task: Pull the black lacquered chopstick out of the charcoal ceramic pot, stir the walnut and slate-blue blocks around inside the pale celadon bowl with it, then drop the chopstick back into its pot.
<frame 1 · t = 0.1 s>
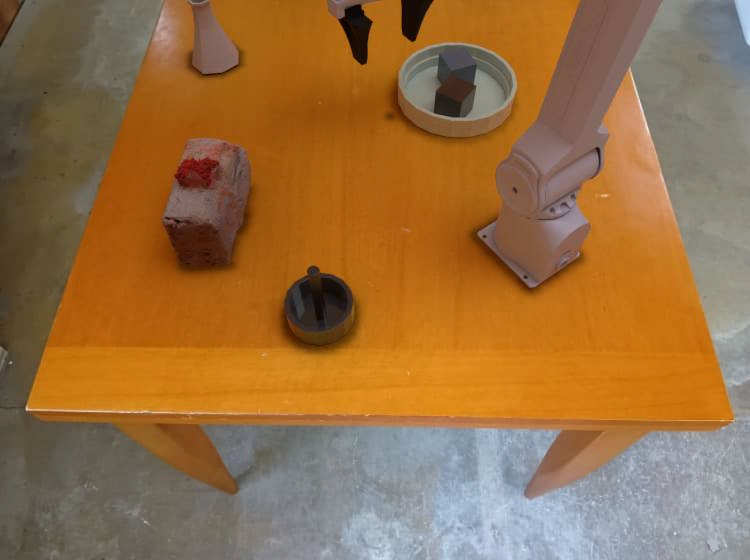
hand: (384, 48, 71), 10 cm above the table, tool pointing down, fingers open, 7 cm apart
walnut block: (452, 111, 79), resting on bowl
slate block: (454, 82, 82), resting on bowl
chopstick: (321, 315, 62), resting on holder
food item: (219, 222, 70), on the table
holder: (321, 317, 63), on the table
flask: (216, 60, 86), on the table
bowl: (454, 99, 81), on the table
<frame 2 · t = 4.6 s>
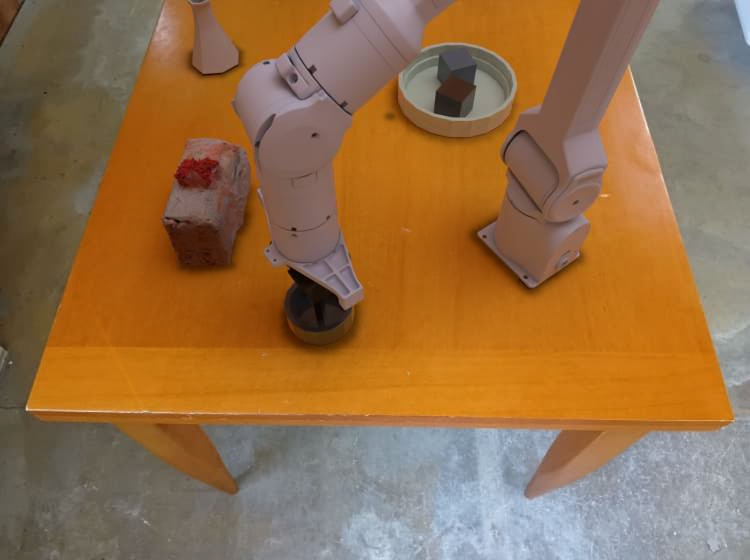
hand: (316, 289, 58), 6 cm above the table, tool pointing down, fingers closed on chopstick, 1 cm apart
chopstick: (321, 315, 62), point 1 cm above the table, touching gripper, holder
everything else where it was.
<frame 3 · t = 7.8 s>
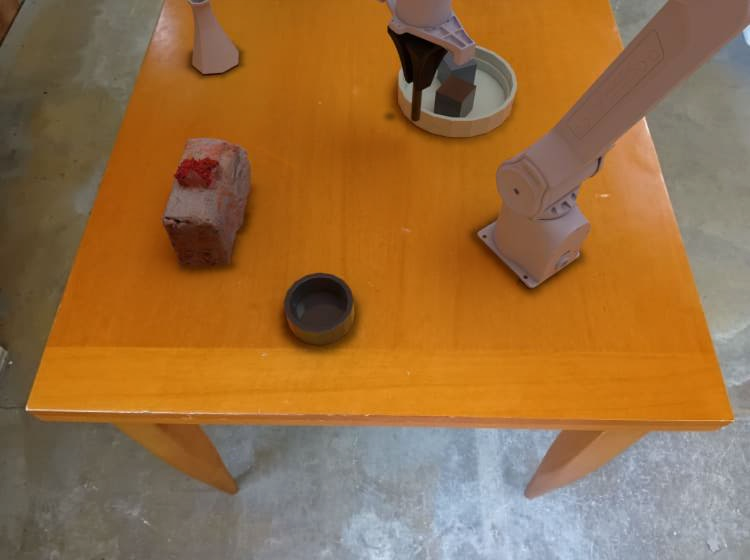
hand: (418, 83, 67), 10 cm above the table, tool pointing down, fingers closed on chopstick
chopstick: (415, 118, 72), point 5 cm above the table, touching gripper
everything else where it was.
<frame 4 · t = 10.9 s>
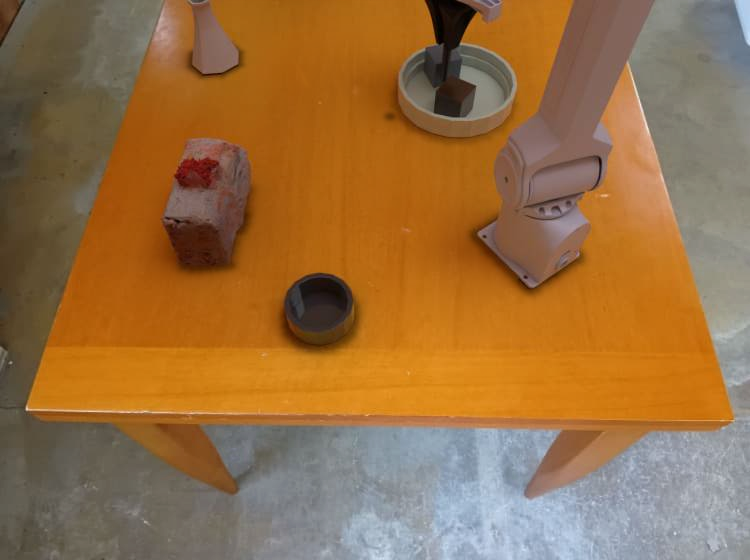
hand: (447, 44, 75), 8 cm above the table, tool pointing down, fingers closed on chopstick, 1 cm apart
slate block: (441, 76, 83), point 1 cm above the table, touching bowl
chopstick: (443, 79, 80), point 2 cm above the table, touching gripper
everything else where it was.
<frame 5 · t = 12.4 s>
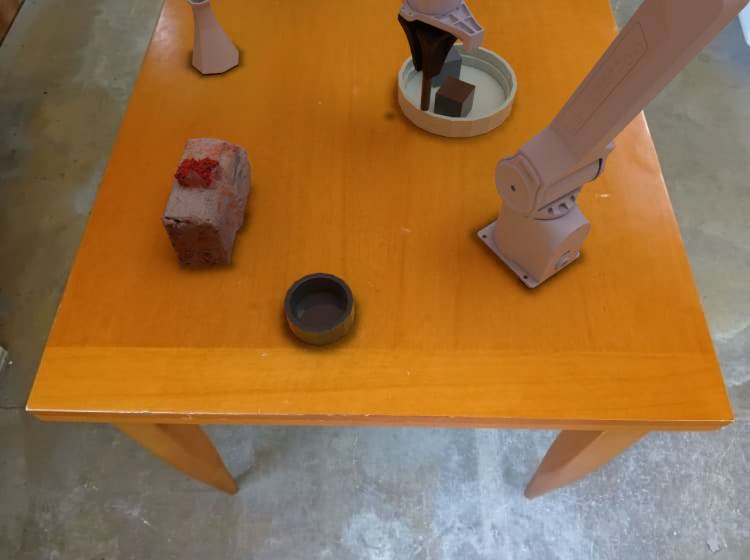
hand: (427, 71, 69), 10 cm above the table, tool pointing down, fingers closed on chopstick
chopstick: (424, 108, 74), point 5 cm above the table, touching gripper
everything else where it was.
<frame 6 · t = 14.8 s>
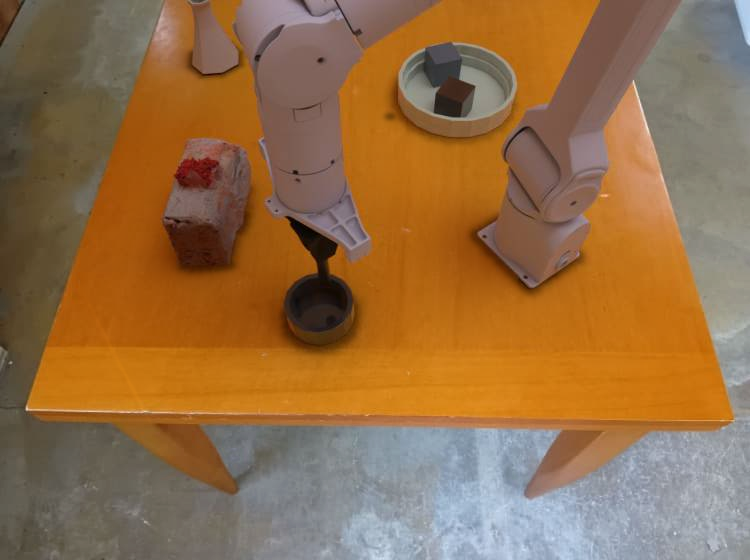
hand: (320, 250, 55), 10 cm above the table, tool pointing down, fingers closed on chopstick
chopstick: (325, 281, 60), point 5 cm above the table, touching gripper
everything else where it was.
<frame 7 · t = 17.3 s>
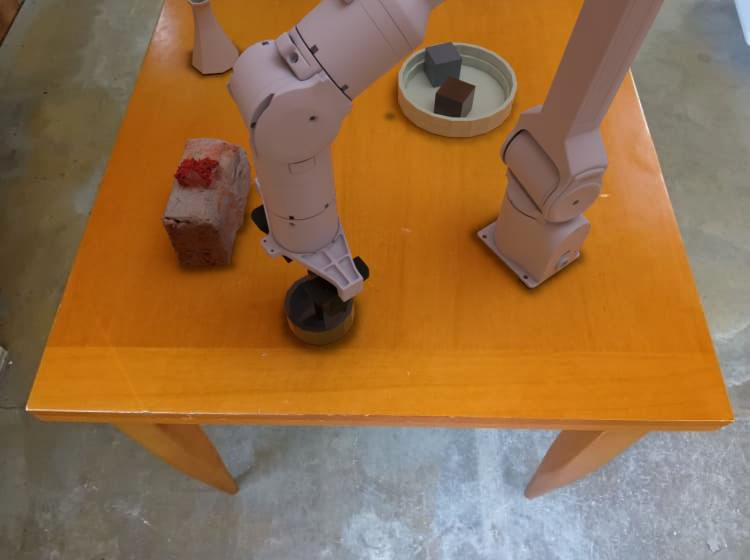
hand: (315, 282, 56), 7 cm above the table, tool pointing down, fingers open, 7 cm apart
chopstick: (321, 315, 62), resting on holder
everything else where it was.
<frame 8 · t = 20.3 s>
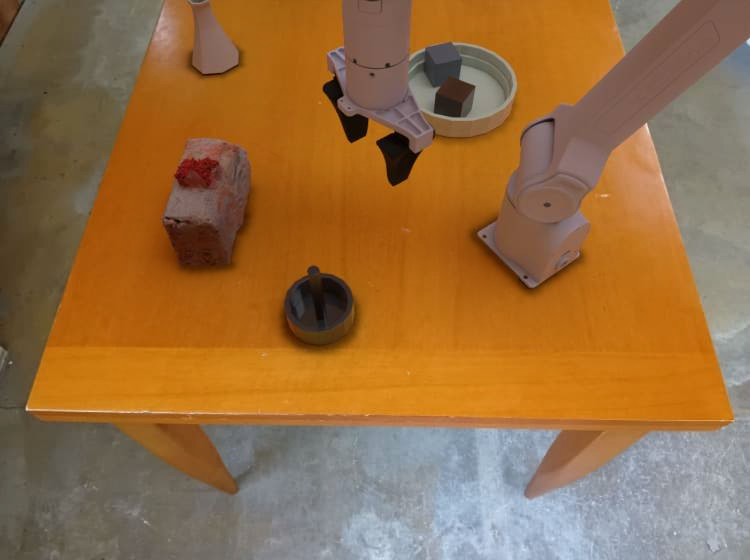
hand: (377, 158, 61), 10 cm above the table, tool pointing down, fingers open, 7 cm apart
nothing on the table moved.
at the end: slate block moved 2.3 cm from its start; slate block inside the target area in the bowl (4.8 cm from its centre), point 0.5 cm above the bowl's base; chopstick 0.0 cm off-centre in the holder, point 0.5 cm above the holder's base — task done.
